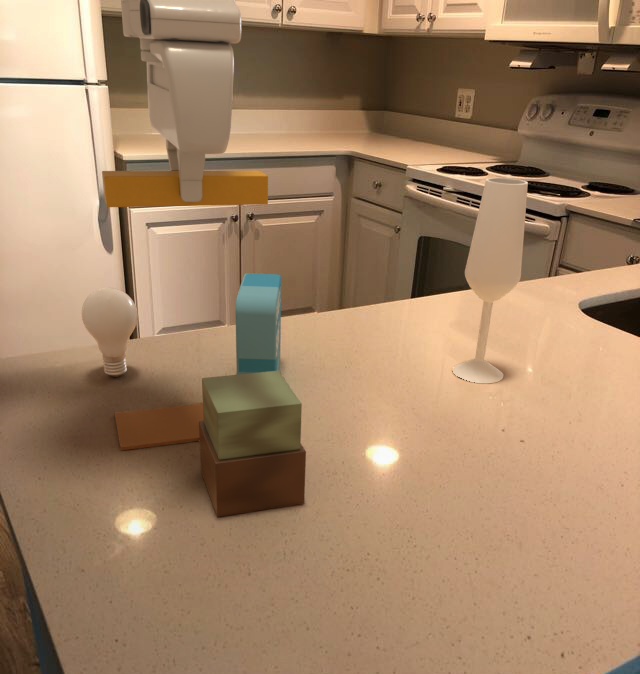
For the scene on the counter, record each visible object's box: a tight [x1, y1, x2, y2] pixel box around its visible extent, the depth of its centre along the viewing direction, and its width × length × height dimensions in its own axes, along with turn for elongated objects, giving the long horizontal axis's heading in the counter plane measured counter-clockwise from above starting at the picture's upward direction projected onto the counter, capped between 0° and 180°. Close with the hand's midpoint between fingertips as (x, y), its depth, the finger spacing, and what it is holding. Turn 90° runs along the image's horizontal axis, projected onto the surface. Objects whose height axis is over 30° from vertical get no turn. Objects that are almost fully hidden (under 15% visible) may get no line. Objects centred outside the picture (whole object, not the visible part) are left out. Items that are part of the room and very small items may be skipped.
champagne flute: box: [452, 177, 529, 384], centre depth 87 cm, size 7×7×24 cm
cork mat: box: [114, 402, 204, 451], centre depth 77 cm, size 14×8×1 cm, turn 109°
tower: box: [199, 370, 307, 518], centre depth 64 cm, size 8×8×10 cm
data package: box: [235, 272, 282, 375], centre depth 86 cm, size 12×4×12 cm, turn 0°
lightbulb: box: [81, 287, 139, 378], centre depth 85 cm, size 6×6×11 cm
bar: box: [101, 169, 269, 208], centre depth 62 cm, size 14×3×2 cm, turn 109°
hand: (186, 195), depth 63 cm, fingers closed on bar, 3 cm apart
